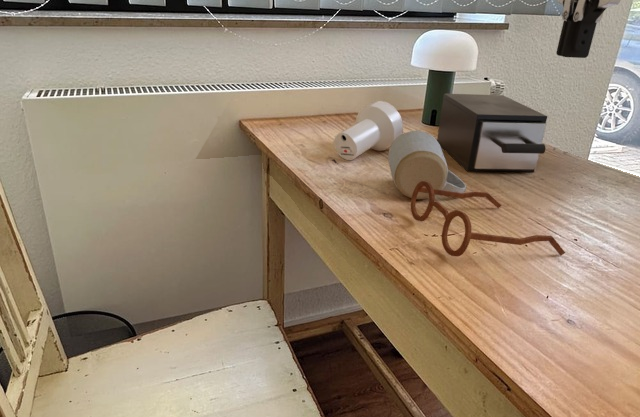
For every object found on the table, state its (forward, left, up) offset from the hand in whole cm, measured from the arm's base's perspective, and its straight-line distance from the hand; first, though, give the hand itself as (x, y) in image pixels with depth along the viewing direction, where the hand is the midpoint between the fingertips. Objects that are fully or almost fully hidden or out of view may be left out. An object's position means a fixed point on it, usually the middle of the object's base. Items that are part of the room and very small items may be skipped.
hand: (571, 56), depth 60 cm
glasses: (+12, +10, -19) cm, 25 cm away
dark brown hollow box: (0, -19, -19) cm, 27 cm away
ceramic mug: (+15, -3, -19) cm, 25 cm away
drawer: (0, -15, -18) cm, 24 cm away
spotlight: (+20, -20, -19) cm, 34 cm away
